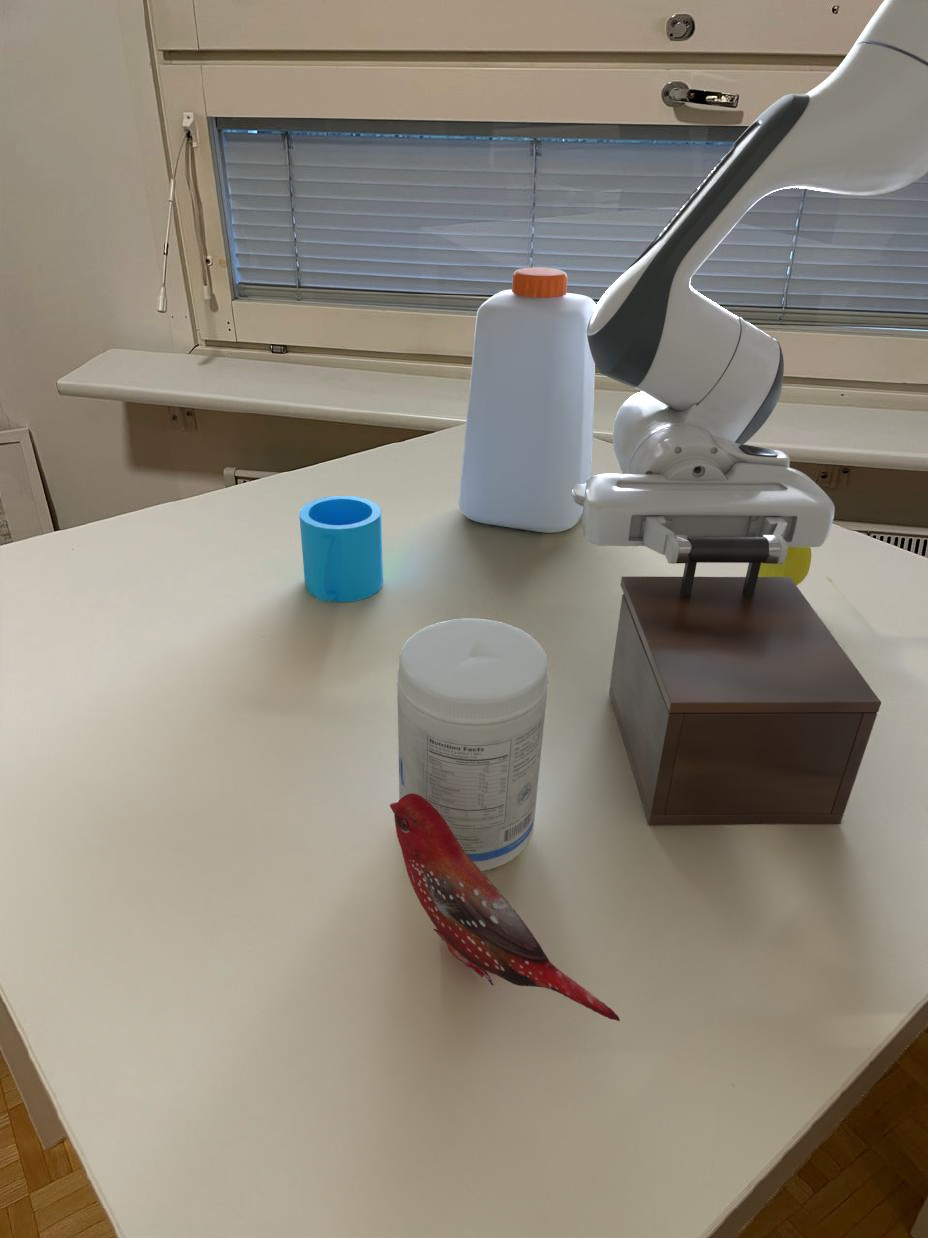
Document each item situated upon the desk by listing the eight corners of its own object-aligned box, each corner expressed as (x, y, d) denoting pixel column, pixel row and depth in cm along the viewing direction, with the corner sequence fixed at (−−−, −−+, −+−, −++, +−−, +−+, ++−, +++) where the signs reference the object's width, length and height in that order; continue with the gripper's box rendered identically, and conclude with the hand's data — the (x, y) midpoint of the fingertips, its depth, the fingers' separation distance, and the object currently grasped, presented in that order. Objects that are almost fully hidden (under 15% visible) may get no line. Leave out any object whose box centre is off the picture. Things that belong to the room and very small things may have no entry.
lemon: (767, 611, 89) (788, 521, 84) (732, 585, 93) (750, 498, 88) (819, 600, 91) (843, 512, 86) (782, 575, 96) (803, 490, 90)
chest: (608, 693, 76) (622, 593, 71) (766, 693, 76) (791, 594, 71) (648, 826, 62) (669, 714, 57) (840, 824, 63) (878, 713, 58)
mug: (320, 561, 96) (315, 492, 92) (391, 569, 95) (390, 499, 90) (279, 615, 86) (271, 541, 82) (359, 626, 84) (355, 550, 80)
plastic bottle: (572, 541, 102) (597, 289, 87) (449, 522, 105) (453, 277, 91) (594, 493, 114) (619, 265, 100) (484, 478, 118) (492, 256, 103)
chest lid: (620, 585, 71) (629, 520, 68) (788, 585, 72) (804, 521, 69) (669, 713, 57) (683, 638, 54) (878, 712, 58) (904, 638, 54)
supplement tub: (404, 779, 66) (402, 612, 58) (530, 782, 66) (544, 615, 58) (394, 879, 57) (390, 698, 50) (538, 882, 57) (555, 702, 50)
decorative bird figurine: (409, 883, 57) (407, 765, 52) (623, 1075, 46) (648, 951, 41) (374, 906, 55) (369, 787, 50) (588, 1112, 45) (610, 987, 39)
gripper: (571, 448, 76) (597, 516, 64) (803, 451, 76) (871, 518, 65) (565, 515, 79) (589, 591, 67) (787, 516, 80) (849, 592, 68)
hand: (729, 555), depth 66 cm, fingers closed on chest lid, 6 cm apart
